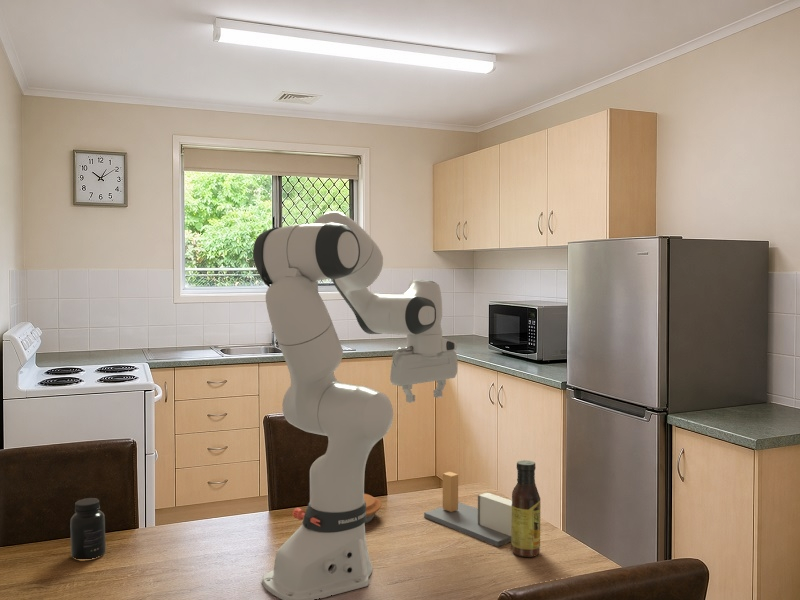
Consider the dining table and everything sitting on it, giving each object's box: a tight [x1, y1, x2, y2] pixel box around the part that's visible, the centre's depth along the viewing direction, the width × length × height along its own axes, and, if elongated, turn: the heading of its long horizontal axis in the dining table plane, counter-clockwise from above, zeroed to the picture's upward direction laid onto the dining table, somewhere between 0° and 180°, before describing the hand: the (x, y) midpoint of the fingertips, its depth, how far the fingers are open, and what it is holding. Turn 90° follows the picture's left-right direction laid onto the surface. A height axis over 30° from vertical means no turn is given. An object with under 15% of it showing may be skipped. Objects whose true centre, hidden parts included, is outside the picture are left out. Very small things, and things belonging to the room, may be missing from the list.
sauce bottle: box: [510, 459, 541, 558], centre depth 150 cm, size 7×6×20 cm
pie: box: [364, 493, 383, 524], centre depth 171 cm, size 15×16×5 cm
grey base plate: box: [423, 491, 512, 548], centre depth 166 cm, size 12×24×8 cm, turn 41°
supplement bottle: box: [69, 497, 107, 559], centre depth 149 cm, size 7×7×12 cm
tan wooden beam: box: [442, 471, 459, 512], centre depth 172 cm, size 2×3×9 cm
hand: (424, 399), depth 172 cm, fingers open, 8 cm apart
